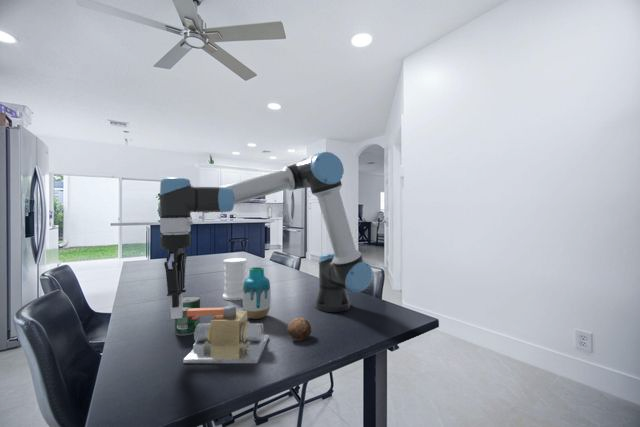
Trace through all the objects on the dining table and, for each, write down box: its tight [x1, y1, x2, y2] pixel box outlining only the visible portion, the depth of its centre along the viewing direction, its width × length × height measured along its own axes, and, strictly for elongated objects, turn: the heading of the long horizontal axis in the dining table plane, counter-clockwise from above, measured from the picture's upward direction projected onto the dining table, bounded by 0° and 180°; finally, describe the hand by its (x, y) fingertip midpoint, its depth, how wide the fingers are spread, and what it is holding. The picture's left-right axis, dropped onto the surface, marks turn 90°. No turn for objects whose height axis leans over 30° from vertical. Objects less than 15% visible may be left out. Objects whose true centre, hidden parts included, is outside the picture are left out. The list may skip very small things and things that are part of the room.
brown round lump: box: [286, 317, 312, 342], centre depth 89 cm, size 8×8×6 cm
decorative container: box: [222, 257, 248, 301], centre depth 133 cm, size 12×12×18 cm
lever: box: [182, 305, 237, 318], centre depth 80 cm, size 17×4×2 cm, turn 96°
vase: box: [242, 266, 272, 320], centre depth 105 cm, size 11×11×19 cm
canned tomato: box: [174, 295, 201, 336], centre depth 94 cm, size 8×8×11 cm
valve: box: [182, 310, 269, 364], centre depth 80 cm, size 20×15×10 cm
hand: (176, 317), depth 76 cm, fingers closed
